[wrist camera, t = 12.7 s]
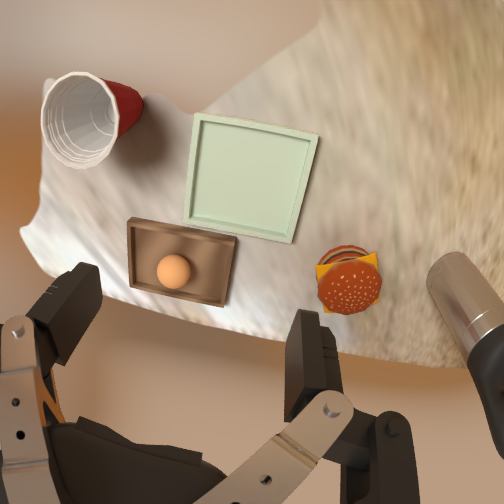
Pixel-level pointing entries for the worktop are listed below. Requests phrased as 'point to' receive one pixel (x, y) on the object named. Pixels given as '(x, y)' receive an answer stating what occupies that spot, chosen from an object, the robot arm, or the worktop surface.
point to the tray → (190, 248)
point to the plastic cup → (87, 117)
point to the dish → (247, 176)
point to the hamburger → (348, 280)
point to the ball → (173, 271)
